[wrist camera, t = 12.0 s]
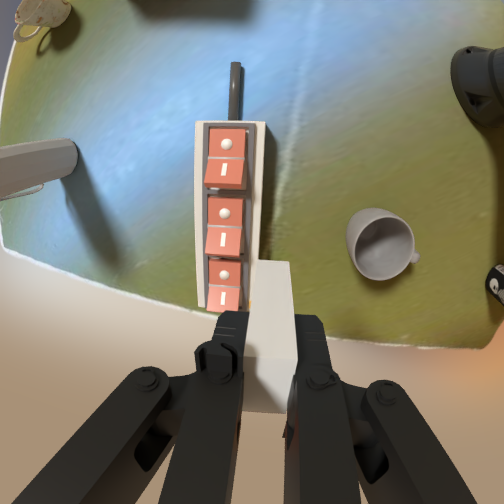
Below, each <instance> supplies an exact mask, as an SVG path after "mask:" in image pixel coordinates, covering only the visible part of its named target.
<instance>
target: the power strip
mask: <svg viewBox="0 0 504 504" xmlns="http://www.w3.org/2000/svg"><path fill="white" fill-rule="evenodd" d="M240 72H241V63H240V62H231V70H230V88H229V109H228V121H195V167H194V200H195V247H196V272H197V291H198V307H205V308H207V303H208V293H209V260H210V259H211V258H214V259H228V260H241V290H240V298H239V309H238V311H242V312H247V311H250V307H251V300H252V293H253V286H254V279H255V272H256V265H257V260H259V246H260V229H261V210H262V191H263V172H264V152H265V132H266V123H265V122H260V121H238V113H239V92H240ZM210 129H245V130H246V145H245V164H244V172H243V180H242V189H234V188H207V187H205V185H204V180H205V174H206V169H207V164H208V156H209V141H210ZM209 197H234V198H243V230H242V236H241V247H240V258H239V257H225V256H211V255H206V254H205V248H206V240H207V232H208V228H207V225H208V198H209Z"/></svg>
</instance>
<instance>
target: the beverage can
mask: <svg viewBox="0 0 504 504" xmlns="http://www.w3.org/2000/svg"><path fill="white" fill-rule="evenodd" d="M486 288H487V290H488V291H489V292H490V293H491V294H492V295H493V296H494V297H495V298H496V299H497V300H498V301H499V302H500V303H501V304H502V305H503V306H504V265H502V264H499V265H497V266H494V267H493V268H492V269H491V270H490V272H489V274H488V276H487V279H486Z"/></svg>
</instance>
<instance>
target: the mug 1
mask: <svg viewBox="0 0 504 504" xmlns="http://www.w3.org/2000/svg"><path fill="white" fill-rule="evenodd" d="M70 11H71V5H70V3H68V2H67V1H66V0H23V1H22V2H21V3H20V5H19V7H18V9H17V12H16V15H15V22H16V23H17V24H19V25H18V26H17V27H16V29H15V31H14V34H13V35H14V39H15V40H16V41H17V42H25V41H27V40H29V39H31V38H32V37H34V36H35V35H36V34H38V32H39V31H40V30H41V28H42V27H52V28H54V27H57V26H59V25H61V24H62V23H63V22H64V21H65V20H66V18H67V17H68V15H69V13H70ZM23 25H33V26H39V27H38V29H37V30H36V31H35V32H34V33H33V34H31V35H29V36H26V37H21V36H20V35H19V31H20V29H21V28H22V26H23Z"/></svg>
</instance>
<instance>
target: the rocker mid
mask: <svg viewBox="0 0 504 504" xmlns="http://www.w3.org/2000/svg"><path fill="white" fill-rule="evenodd" d="M207 228H208V232H207V240H206V248H205V254H206V255H211V256H225V257H239V258H240V247H241V236H242V230H243V198H234V197H209V198H208V225H207Z"/></svg>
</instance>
